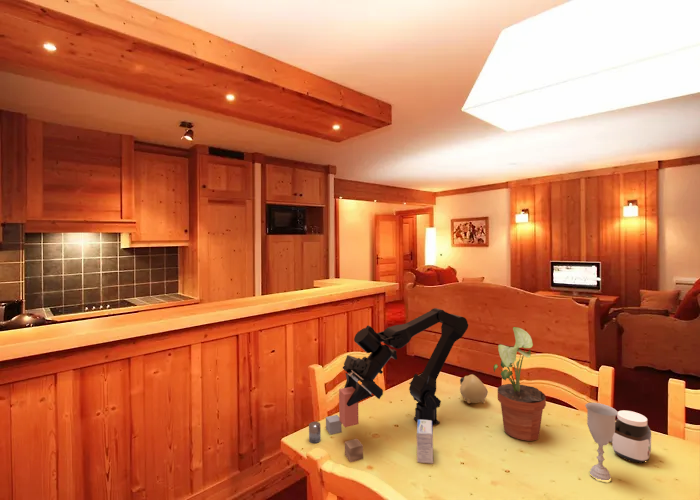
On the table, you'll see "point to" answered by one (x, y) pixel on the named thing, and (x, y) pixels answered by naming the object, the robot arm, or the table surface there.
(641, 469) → the table surface
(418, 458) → the medicine box
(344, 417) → the dusty red block
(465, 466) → the table surface
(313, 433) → the grey metal cylinder
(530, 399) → the potted plant
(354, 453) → the walnut block
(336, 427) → the slate grey block
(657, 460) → the table surface
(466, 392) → the toy pig
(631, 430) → the spread jar
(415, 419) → the robot arm
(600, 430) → the chalice
